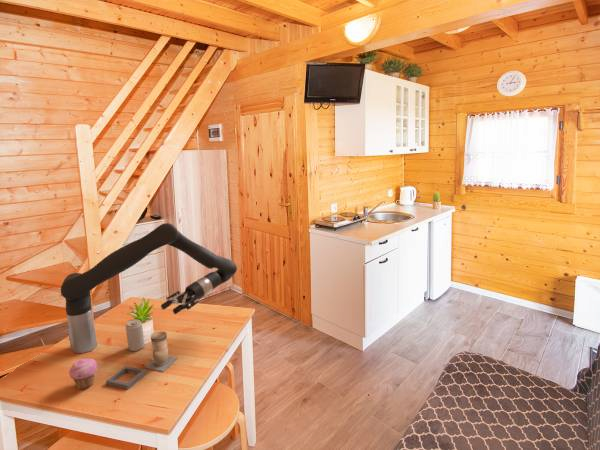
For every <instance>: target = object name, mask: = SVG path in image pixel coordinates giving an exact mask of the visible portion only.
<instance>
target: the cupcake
mask: <svg viewBox="0 0 600 450" xmlns="http://www.w3.org/2000/svg"><path fill="white" fill-rule="evenodd" d="M69 369H70V370H69V377H70V378H71V379H72V380H73V381H74V382H75V385H76V389H78V390H82V389H86V388H89V387H91V386H92V385H94V381H95V373H96V372H97V369H98V364H97V361H96V360H95V359H93V358H80V359H78V360H76V361H74V362H73V364H72V366H71V367H70V368H69Z"/></svg>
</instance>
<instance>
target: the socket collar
mask: <svg viewBox="0 0 600 450" xmlns="http://www.w3.org/2000/svg"><path fill="white" fill-rule="evenodd" d="M126 373H130V374H135V376H134V377H132V378H131V379H129V381H128V382H125V381H120V380H118V379H119V378H120V377H122V376H123V375H124V374H126ZM145 375H147V369H145V368H144V369H143V368H137V367H133V366H128V365H125V366H123V367H122V368H121V369H119V370H118V371H117V372H116V373H114V374H113V375H112V376H111V377H109V378H108V379H106V381H105V383H106V385H107V386H111V387H114V388H120V389H125V390H130V389H131V388H132V387H133V386H134V385H135V384H136V383H137V382H139V381H140V380H141V379H142V378H143V377H144V376H145Z"/></svg>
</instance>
